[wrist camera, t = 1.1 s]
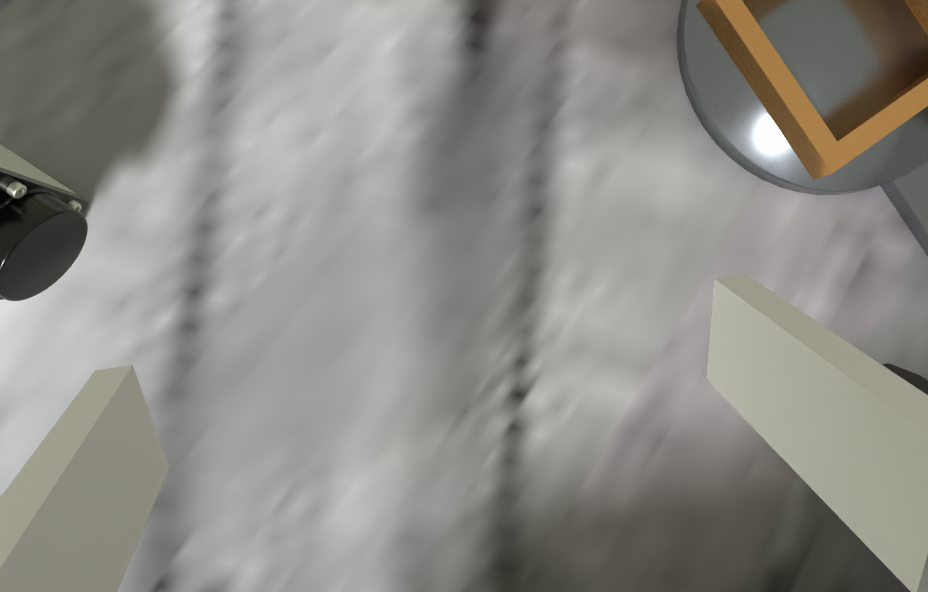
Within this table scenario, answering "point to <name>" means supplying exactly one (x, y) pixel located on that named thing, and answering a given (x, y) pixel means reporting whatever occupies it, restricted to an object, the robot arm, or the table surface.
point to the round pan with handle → (816, 93)
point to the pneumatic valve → (35, 228)
